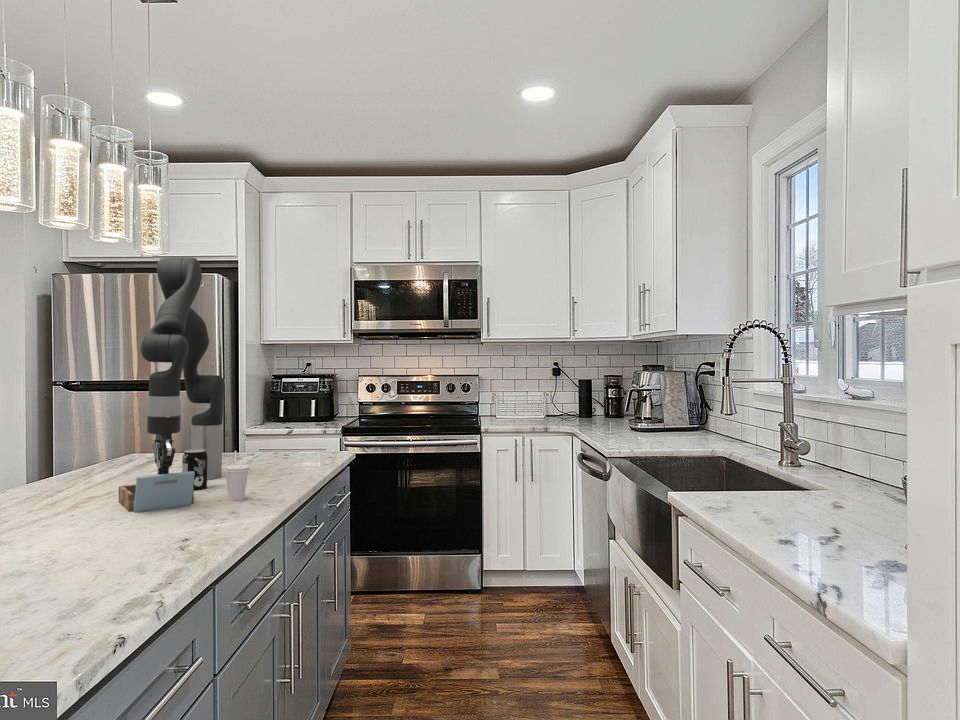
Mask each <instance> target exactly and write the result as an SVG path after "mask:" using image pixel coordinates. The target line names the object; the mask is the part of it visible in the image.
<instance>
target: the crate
mask: <svg viewBox="0 0 960 720" xmlns="http://www.w3.org/2000/svg"><path fill="white" fill-rule="evenodd" d="M135 491H136V484H127V485H126V484H125V485H120V486H118V503H119V504H120V505H121V506H122V507H123V508H124V509H125V510H126V511H127V512H129V513H130V512H131V513H132V512H134V502H135ZM194 492H195V491H194V487H193V493H192V502H191V505H192V504H195V503H194V502H195V501H194V498H195V497H194V495H195V494H194Z"/></svg>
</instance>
